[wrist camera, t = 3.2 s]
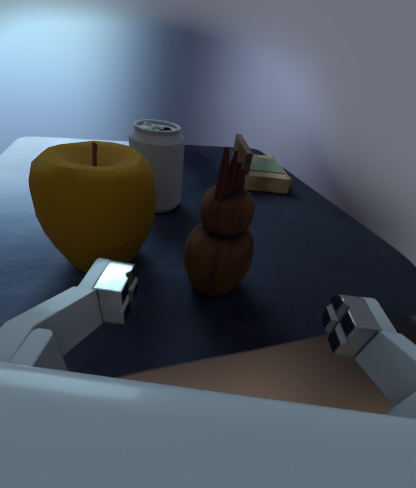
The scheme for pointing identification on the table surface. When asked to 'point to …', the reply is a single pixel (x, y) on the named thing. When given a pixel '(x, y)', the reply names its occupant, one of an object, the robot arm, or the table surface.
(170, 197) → the can
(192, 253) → the wooden figurine
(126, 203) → the apple
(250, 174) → the l-shaped display stand
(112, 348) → the table surface
